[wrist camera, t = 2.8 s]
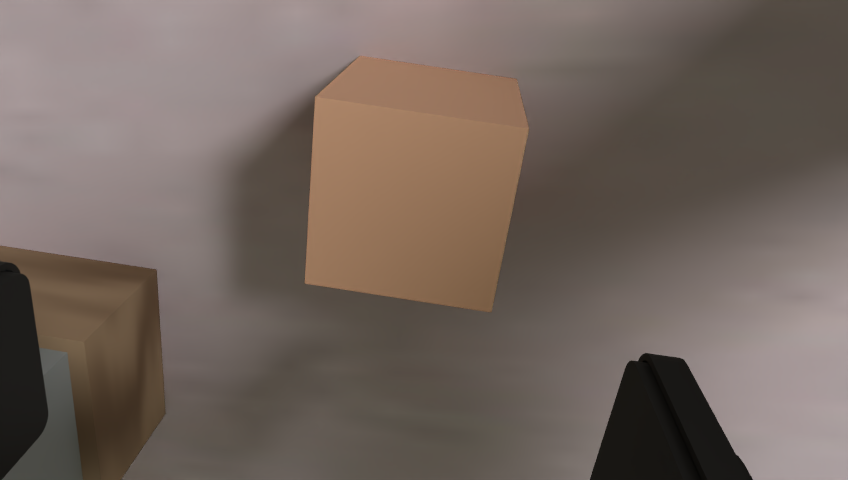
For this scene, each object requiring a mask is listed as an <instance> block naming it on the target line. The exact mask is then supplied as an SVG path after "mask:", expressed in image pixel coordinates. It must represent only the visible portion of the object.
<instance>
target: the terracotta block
mask: <svg viewBox="0 0 848 480" xmlns="http://www.w3.org/2000/svg"><path fill="white" fill-rule="evenodd" d="M528 132H529V126H528V122H527V118H526V114H525V110H524V106H523V102H522V98H521V94H520V90H519V86H518V82H517V79H513V78H506V77H500V76H493V75H486V74H479V73H473V72H466V71H459V70H452V69H446V68H439V67H432V66H425V65H418V64H412V63H405V62H398V61H391V60H385V59H378V58H371V57H364V56H359V57H358V58H357V59H356V60H355V61H354V62H353V63H351V64H350V65H349V66H348V67H347V68H346V69H345V70H344V71H343V72H342V73H341V74H339V75H338V76H337V77H336V78H335V79H334V80H333V81H332V82H331V83H330V84H329V85H327V86H326V87H325V88H324V89H323V90H322V91H321V92H320V93H319V94H318V95H317V96H315V108H314V126H313V144H312V162H311V179H310V197H309V215H308V233H307V251H306V269H305V284H311V285H317V286H324V287H330V288H337V289H343V290H349V291H356V292H362V293H369V294H375V295H382V296H388V297H394V298H401V299H407V300H414V301H420V302H427V303H433V304H440V305H446V306H452V307H459V308H465V309H472V310H478V311H485V312H492V307H493V302H494V297H495V292H496V288H497V283H498V278H499V273H500V268H501V263H502V258H503V253H504V249H505V244H506V239H507V234H508V229H509V224H510V219H511V215H512V210H513V205H514V200H515V195H516V190H517V185H518V180H519V176H520V171H521V166H522V161H523V156H524V151H525V146H526V141H527V137H528Z"/></svg>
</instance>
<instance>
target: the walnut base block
mask: <svg viewBox="0 0 848 480" xmlns="http://www.w3.org/2000/svg"><path fill="white" fill-rule="evenodd" d="M0 261H2V262H9V263H13V264H14V265H16V266H17V267H18V269H19V270H20V273H21V274H24V275H25V276H26V277H27V278H28V279H29V283H30V288H31V295H32V302H33V309H34V316H35V323H36V330H37V336H38V343H39V348H44V349H50V350H56V351H62V352H67V354H68V362H69V371H70V379H71V387H72V395H73V403H74V411H75V419H76V427H77V435H78V443H79V451H80V459H81V468H82V476H83V480H121V479H122V477H123V476H124V474H125V473H126V471H127V470H128V468H129V467H130V465H131V464H132V462H133V461H134V460H135V458H136V457H137V455H138V454H139V452H140V451H141V449H142V448H143V446H144V445H145V443H146V442H147V440H148V439H149V437H150V436H151V434H152V433H153V431H154V430H155V429H156V427H157V426H158V424H159V423H160V421H161V420H162V418H163V417H164V415H165V414H166V412H165V396H164V380H163V364H162V348H161V332H160V316H159V300H158V284H157V270H156V269H149V268H143V267H136V266H130V265H123V264H117V263H110V262H103V261H97V260H90V259H84V258H77V257H71V256H64V255H58V254H51V253H45V252H38V251H31V250H25V249H18V248H12V247H5V246H0Z"/></svg>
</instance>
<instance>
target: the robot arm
mask: <svg viewBox="0 0 848 480" xmlns="http://www.w3.org/2000/svg"><path fill="white" fill-rule="evenodd" d="M47 420H48V405H47V398H46V391H45V385H44V378H43V371H42V364H41V357H40V350H39V343H38V336H37V330H36V323H35V316H34V309H33V302H32V295H31V288H30V283H29V279H28V278H27V277H26V276H25V275H24V274H21V273H20V270H19V269H18V267H17V266H16V265H14V264H13V263H9V262H2V261H0V480H2V479H3V478H4V477H5V476H6V474H7V473H8V472H9V471H10V470H11V469H12V468H13V466H14V465H15V464H16V463H17V462H18V461H19V460H20V458H21V457H22V456H23V455H24V454H25V453H26V452H27V450H28V449H29V448H30V447H31V446H32V445H33V444H34V442H35V441H36V440H37V439H38V438H39V437H40V435H41V434H42V433H43V431H44V429H45V427H46V424H47ZM590 480H753V479H752V477H751V476H750V474H749V472H748V470H747V468H746V466H745V465H744V463H743V462H742V461H741V459H740V458H739V456H737V455H736V454H735V452H734V450H733V449H732V447H731V445H730V443H729V441H728V439H727V437H726V436H725V434H724V432H723V430H722V428H721V426H720V425H719V423H718V421H717V419H716V417H715V415H714V413H713V412H712V410H711V408H710V406H709V404H708V402H707V400H706V399H705V397H704V395H703V393H702V391H701V389H700V388H699V386H698V384H697V382H696V380H695V378H694V376H693V375H692V373H691V371H690V369H689V367H688V365H687V364H686V362H685V361H684V360H683V359H681V358H676V357H669V356H662V355H655V354H648V353H645V354H643V355H642V356H641V357H640V358H639V361H629V362H628V364H627V366H626V368H625V371H624V374H623V377H622V380H621V383H620V387H619V390H618V393H617V396H616V399H615V402H614V405H613V409H612V412H611V415H610V418H609V421H608V424H607V427H606V431H605V434H604V437H603V440H602V443H601V446H600V449H599V453H598V456H597V459H596V462H595V465H594V468H593V471H592V475H591V478H590Z"/></svg>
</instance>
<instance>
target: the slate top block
mask: <svg viewBox="0 0 848 480" xmlns="http://www.w3.org/2000/svg"><path fill="white" fill-rule="evenodd" d="M39 350H40V357H41V364H42V371H43V378H44V385H45V391H46V398H47V405H48V420H47V424H46V427H45V429H44V431H43V433H42V434H41V435H40V437H39V438H38V439H37V440H36V441H35V442H34V444H33V445H32V446H31V447H30V448H29V449H28V450H27V452H26V453H25V454H24V455H23V456H22V457H21V458H20V460H19V461H18V462H17V463H16V464H15V465H14V466H13V468H12V469H11V470H10V471H9V472H8V473H7V474H6V476H5V477H4V478H3V479H2V480H83V476H82V468H81V459H80V451H79V443H78V435H77V427H76V419H75V411H74V403H73V395H72V387H71V379H70V371H69V362H68V354H67V352H62V351H56V350H50V349H44V348H39Z"/></svg>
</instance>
